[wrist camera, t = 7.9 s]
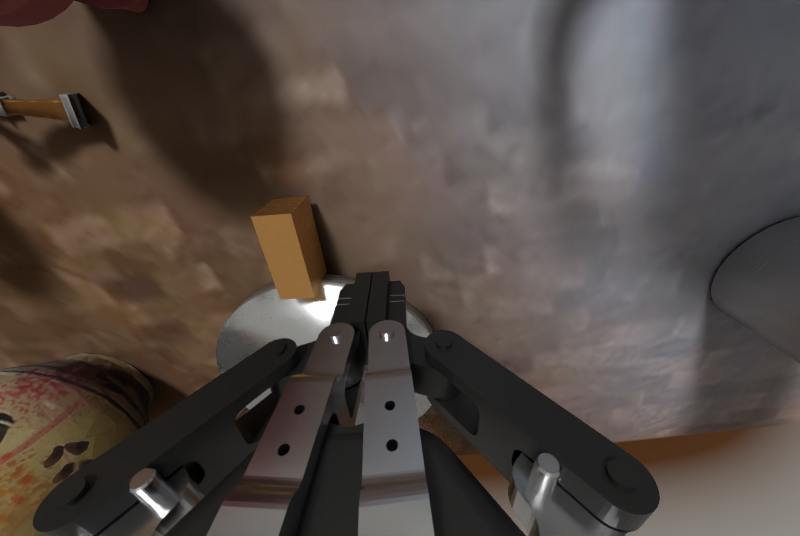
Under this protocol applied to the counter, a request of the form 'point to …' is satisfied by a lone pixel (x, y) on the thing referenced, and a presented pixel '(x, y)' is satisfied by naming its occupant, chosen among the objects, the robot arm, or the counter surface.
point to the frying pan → (291, 291)
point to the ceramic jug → (61, 426)
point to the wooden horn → (46, 109)
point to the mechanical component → (55, 9)
